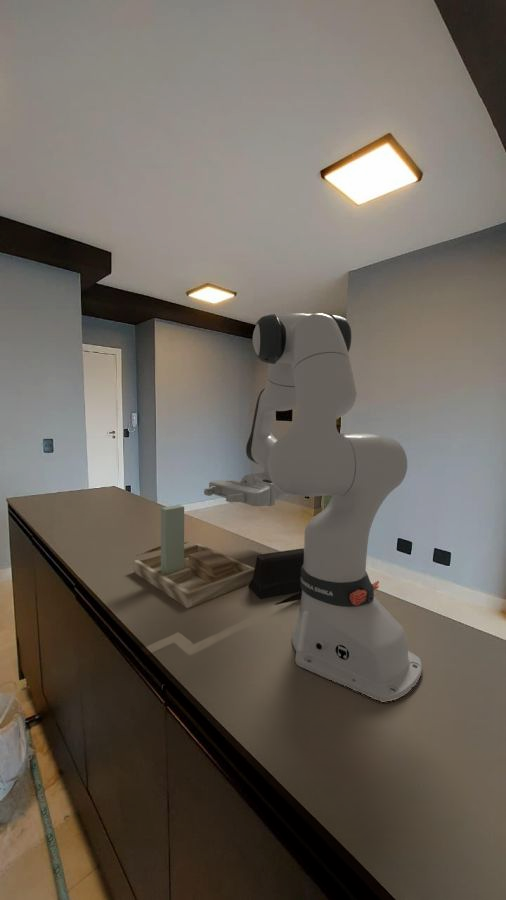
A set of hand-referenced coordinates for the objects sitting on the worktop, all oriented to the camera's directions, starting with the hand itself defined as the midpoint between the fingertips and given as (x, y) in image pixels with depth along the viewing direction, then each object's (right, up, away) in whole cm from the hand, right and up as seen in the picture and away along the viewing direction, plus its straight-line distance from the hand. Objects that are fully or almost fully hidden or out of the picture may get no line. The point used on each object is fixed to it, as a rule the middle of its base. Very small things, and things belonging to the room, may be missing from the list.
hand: (216, 495), depth 99 cm
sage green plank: (-10, -20, -8) cm, 23 cm away
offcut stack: (-1, -19, -4) cm, 20 cm away
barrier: (+20, -22, -9) cm, 32 cm away
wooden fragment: (-13, -19, +17) cm, 29 cm away
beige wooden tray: (-5, -21, -6) cm, 22 cm away
